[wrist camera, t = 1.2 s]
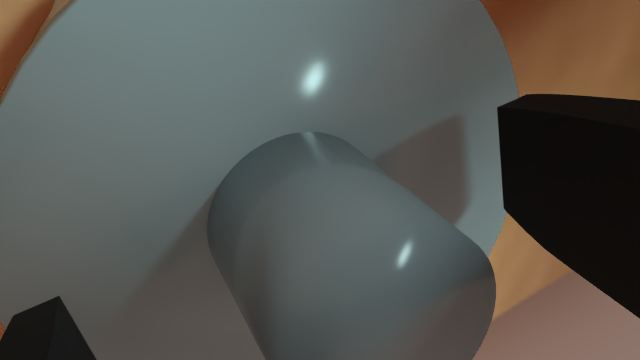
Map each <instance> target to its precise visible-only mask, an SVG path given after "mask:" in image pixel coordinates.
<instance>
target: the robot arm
mask: <svg viewBox="0 0 640 360" xmlns="http://www.w3.org/2000/svg"><path fill="white" fill-rule="evenodd" d="M497 115H498V130H499V145H500V161H501V176H502V191H503V206H504V209H505V211H506V212H507V213H508V214H509V215H510V216H511V217H512V218H513V219H514V220H515V221H516V222H517V223H518V224H519V225H520V226H521V227H522V228H523V229H524V230H525V231H526V232H527V233H528V234H529V235H530V236H532V237H533V238H534V239H535V240H536V241H537V242H538V243H539V244H540V245H541V246H542V247H543V248H544V249H546V250H547V251H548V252H550V253H551V254H552V255H554V256H555V257H556V258H557V259H559V260H560V261H562V262H563V263H564V264H566V265H567V266H568V267H570V268H571V269H572V270H574V271H575V272H576V273H578V274H579V275H580V276H582V277H583V278H585V279H586V280H587V281H589V282H590V283H592V284H593V285H594V286H596V287H597V288H598V289H600V290H601V291H603V292H604V293H605V294H607V295H608V296H610V297H611V298H612V299H614V300H615V301H616V302H618V303H619V304H621V305H622V306H623V307H625V308H626V309H628V310H629V311H630V312H632V313H633V314H634V315H636V316H637V317H638V318H640V101H639V100H627V99H616V98H604V97H592V96H577V95H560V94H527V95H525V96H522V97H520V98H518V99H515V100H513V101H511V102H508V103H506V104H504V105H501V106H499V107H497ZM0 360H97V359H96V358H95V356H94V354H93V353H92V351H91V349H90V347H89V346H88V344H87V342H86V341H85V339H84V337H83V335H82V334H81V332H80V330H79V329H78V327H77V325H76V323H75V322H74V320H73V318H72V317H71V315H70V313H69V311H68V310H67V308H66V306H65V305H64V303H63V301H62V299H61V298H60V296H57V297H55V298H53V299H50V300H48V301H46V302H43V303H41V304H39V305H36V306H34V307H32V308H29V309H27V310H25V311H22V312H20V313H18V314H15V315H13V317H12V319H11V321H10V322H9V324H8V326H7V328H6V330H5V332H4V334H3V336H2V338H1V341H0Z"/></svg>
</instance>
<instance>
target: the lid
mask: <svg viewBox="0 0 640 360" xmlns="http://www.w3.org/2000/svg"><path fill="white" fill-rule="evenodd" d="M518 98H519V97H518V89H517V85H516V81H515V76H514V72H513V68H512V64H511V60H510V58H509V55H508V53H507V50H506V47H505V45H504V42H503V40H502V37H501V35H500V33H499V31H498V29H497V27H496V26H495V24H494V22H493V20H492V19H491V17H490V15H489V13H488V11H487V10H486V8H485V6H484V5H483V4H482V3H481V1H480V0H69V1H68V2H67V3H66V4H65V5H64V6H63V7H62V8H61V9H60V10H59V11H58V12H57V13H56V14H55V15H54V16H53V17H52V18H51V19H50V21H49V22H48V23H47V25H46V26H45V27H44V29H43V30H42V31H41V33H40V34H39V35H38V37H37V38H36V39H35V41H34V42H33V43H32V45H31V46H30V47H29V49H28V50H27V52H26V53H25V54H24V56H23V57H22V59H21V61H20V62H19V64H18V66H17V68H16V70H15V72H14V74H13V76H12V77H11V79H10V81H9V83H8V85H7V87H6V89H5V91H4V92H3V94H2V96H1V99H0V321H1V323H2V325H3V326H4V328H5V330H6V328H7V326H8V324H9V322H10V321H11V319H12V317H13V315H15V314H18V313H20V312H22V311H25V310H27V309H29V308H32V307H34V306H36V305H39V304H41V303H43V302H46V301H48V300H50V299H53V298H55V297H57V296H60V298H61V299H62V301H63V303H64V305H65V306H66V308H67V310H68V311H69V313H70V315H71V317H72V318H73V320H74V322H75V323H76V325H77V327H78V329H79V330H80V332H81V334H82V335H83V337H84V339H85V341H86V342H87V344H88V346H89V347H90V349H91V351H92V353H93V354H94V356H95V358H96V359H97V360H472V359H473V357H474V356H475V354H476V352H477V351H478V349H479V347H480V346H481V344H482V342H483V340H484V338H485V335H486V334H487V331H488V328H489V326H490V323H491V320H492V316H493V312H494V307H495V299H496V283H495V276H494V272H493V269H492V266H491V263H490V261H489V259H488V257H489V255H490V252H491V250H492V248H493V246H494V244H495V242H496V239H497V237H498V235H499V233H500V231H501V228H502V225H503V222H504V219H505V216H506V214H507V212H506V211H505V209H504V206H503V191H502V176H501V161H500V145H499V130H498V115H497V107H499V106H501V105H504V104H506V103H508V102H511V101H513V100H515V99H518Z"/></svg>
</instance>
